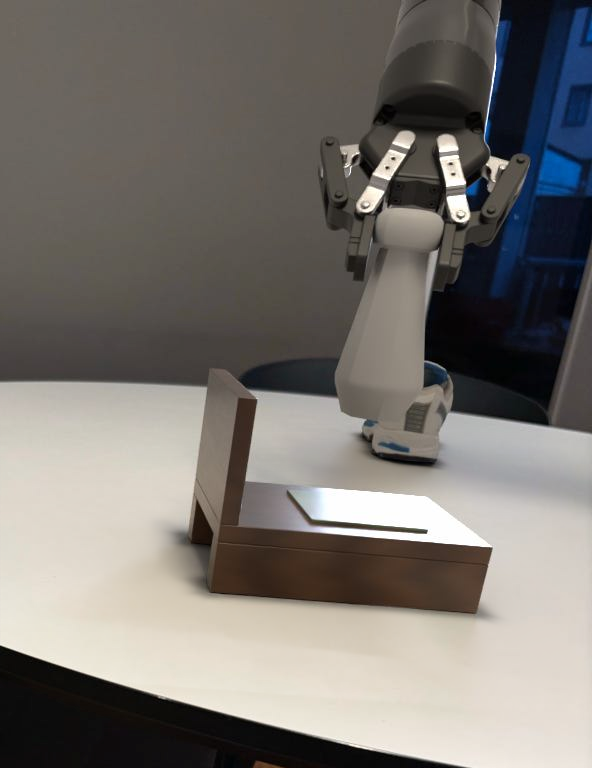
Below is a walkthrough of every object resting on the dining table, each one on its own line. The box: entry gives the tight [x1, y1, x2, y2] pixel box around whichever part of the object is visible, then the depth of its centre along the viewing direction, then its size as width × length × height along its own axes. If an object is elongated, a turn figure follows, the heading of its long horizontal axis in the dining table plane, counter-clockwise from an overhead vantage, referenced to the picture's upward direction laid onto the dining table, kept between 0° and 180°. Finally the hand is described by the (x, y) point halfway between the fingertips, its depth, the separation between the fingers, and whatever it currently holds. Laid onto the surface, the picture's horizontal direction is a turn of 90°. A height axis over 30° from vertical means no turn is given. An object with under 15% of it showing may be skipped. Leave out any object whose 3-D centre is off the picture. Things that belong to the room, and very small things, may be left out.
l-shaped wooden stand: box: [187, 367, 493, 614], centre depth 70 cm, size 18×13×13 cm
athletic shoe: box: [361, 360, 454, 463], centre depth 122 cm, size 10×23×12 cm, turn 174°
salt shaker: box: [334, 207, 444, 422], centre depth 66 cm, size 6×6×13 cm
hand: (400, 275), depth 64 cm, fingers closed on salt shaker, 4 cm apart
